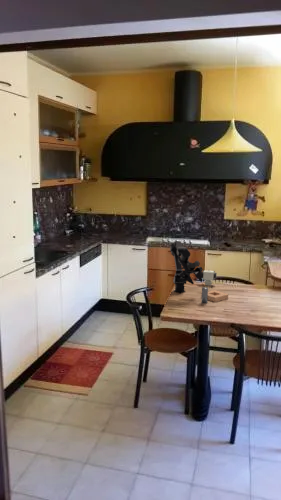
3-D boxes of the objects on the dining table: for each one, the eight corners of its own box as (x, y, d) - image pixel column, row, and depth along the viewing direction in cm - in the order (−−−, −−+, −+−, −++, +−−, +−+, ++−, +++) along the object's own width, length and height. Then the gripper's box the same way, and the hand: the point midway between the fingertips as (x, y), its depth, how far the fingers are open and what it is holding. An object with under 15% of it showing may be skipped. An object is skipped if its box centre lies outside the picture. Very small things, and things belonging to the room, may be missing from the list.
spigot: (200, 302, 269) (200, 287, 267) (204, 301, 271) (204, 286, 269) (204, 303, 266) (205, 289, 264) (208, 302, 268) (209, 288, 266)
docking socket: (201, 297, 280) (201, 293, 279) (214, 294, 287) (214, 290, 287) (215, 302, 270) (215, 297, 269) (228, 298, 277) (228, 294, 277)
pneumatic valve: (215, 286, 307) (216, 271, 305) (200, 285, 310) (200, 270, 308) (216, 284, 313) (216, 269, 310) (200, 283, 315) (201, 268, 313)
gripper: (183, 259, 265) (195, 278, 259) (201, 255, 277) (213, 273, 272) (174, 268, 272) (186, 287, 266) (192, 264, 285) (203, 282, 279)
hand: (197, 282), depth 271 cm, fingers open, 9 cm apart
